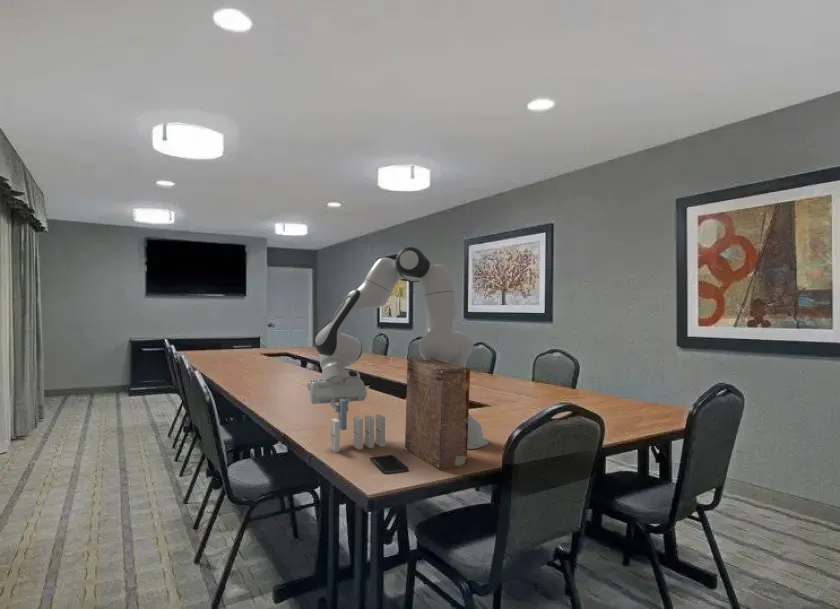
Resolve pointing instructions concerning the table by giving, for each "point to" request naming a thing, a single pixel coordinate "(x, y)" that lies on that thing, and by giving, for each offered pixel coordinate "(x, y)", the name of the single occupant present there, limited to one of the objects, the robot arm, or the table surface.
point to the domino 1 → (335, 435)
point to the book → (437, 412)
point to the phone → (388, 464)
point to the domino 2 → (342, 414)
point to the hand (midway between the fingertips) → (341, 411)
